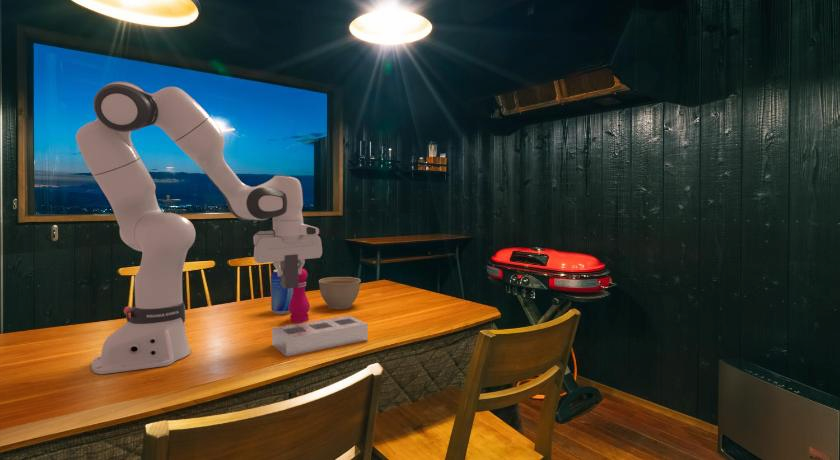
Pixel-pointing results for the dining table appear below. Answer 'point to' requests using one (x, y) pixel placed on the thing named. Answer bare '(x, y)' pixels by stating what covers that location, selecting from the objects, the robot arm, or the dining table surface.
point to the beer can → (279, 295)
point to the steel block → (289, 271)
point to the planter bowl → (339, 291)
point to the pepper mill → (299, 300)
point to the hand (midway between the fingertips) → (289, 275)
